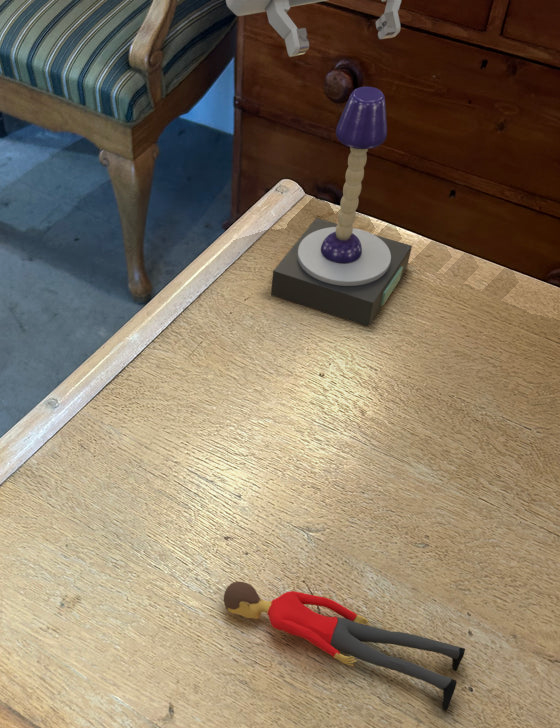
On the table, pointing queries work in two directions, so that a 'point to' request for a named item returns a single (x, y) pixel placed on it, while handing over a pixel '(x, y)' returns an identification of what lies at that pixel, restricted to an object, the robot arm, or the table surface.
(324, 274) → the kitchen scale
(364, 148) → the toy lamp
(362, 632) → the person figure
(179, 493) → the table surface
